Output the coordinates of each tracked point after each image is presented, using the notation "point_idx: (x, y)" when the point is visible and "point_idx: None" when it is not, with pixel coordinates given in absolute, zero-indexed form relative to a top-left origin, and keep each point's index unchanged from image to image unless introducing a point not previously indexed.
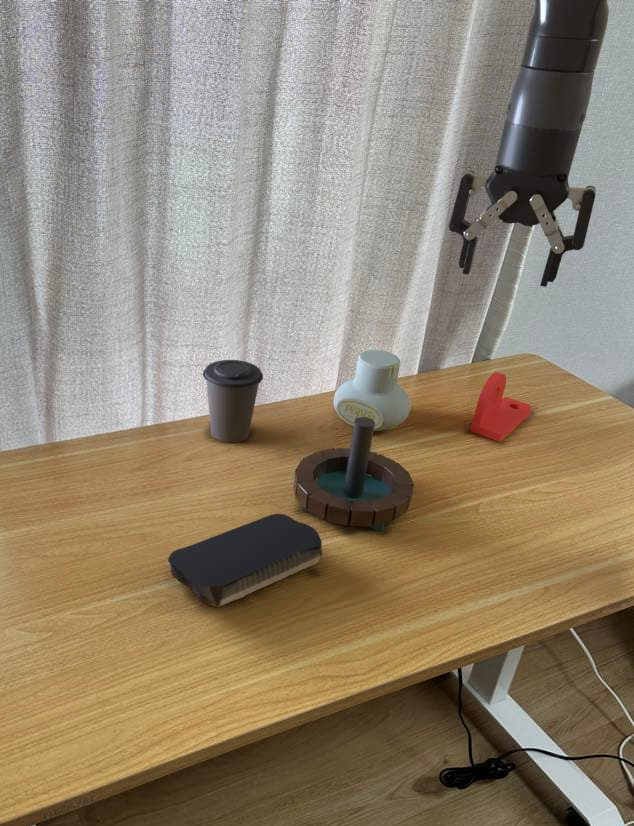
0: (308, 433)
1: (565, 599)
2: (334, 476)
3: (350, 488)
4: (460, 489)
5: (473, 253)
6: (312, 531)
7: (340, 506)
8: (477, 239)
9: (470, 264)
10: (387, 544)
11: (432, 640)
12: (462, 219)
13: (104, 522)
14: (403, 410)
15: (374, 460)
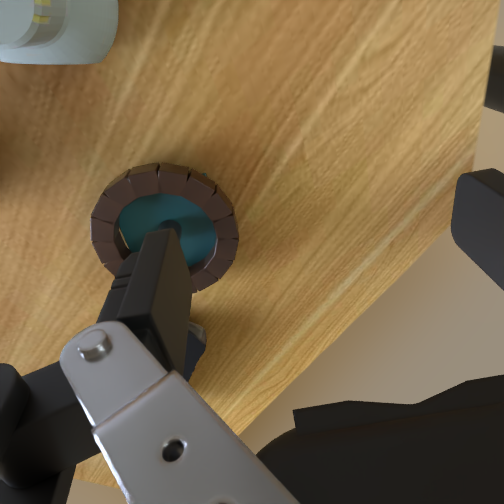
0: (15, 110)
1: (409, 248)
2: (132, 212)
3: None
4: (271, 122)
5: (181, 326)
6: (188, 336)
7: None
8: (159, 325)
9: (189, 310)
10: (240, 268)
11: (315, 339)
12: (24, 443)
13: (26, 369)
14: (111, 13)
15: (162, 190)
